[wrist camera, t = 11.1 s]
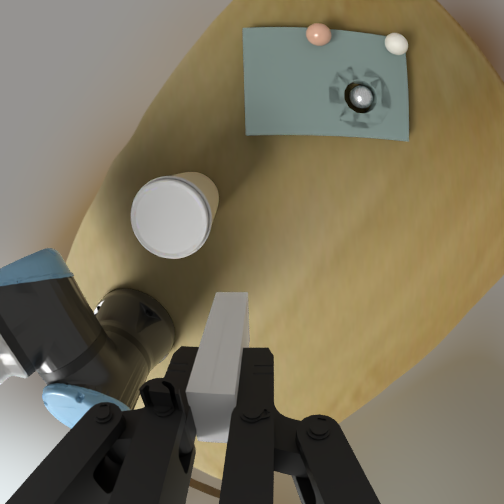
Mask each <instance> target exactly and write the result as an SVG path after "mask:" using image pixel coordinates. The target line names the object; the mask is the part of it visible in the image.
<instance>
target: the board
mask: <svg viewBox="0 0 504 504" xmlns="http://www.w3.org/2000/svg"><path fill="white" fill-rule="evenodd" d="M306 30H307V28H300V27H254V28H243V61H244V94H245V126H246V135H247V136H248V135H323V136H346V137H363V138H377V139H388V140H399V141H409V102H408V79H407V65H406V53H404V54H402V55H395V54H392V53H390V52H389V51H388V50H387V48H386V46H385V38H386V37H387V36H381V35H375V34H368V33H361V32H353V31H344V30H333V29H330V31H331V40H330V41H329V42H328V43H327V44H326V45H323V46H316V45H313V44H312V43H310V42H309V41H308V39H307V37H306ZM350 83H356V84H360V85H362V86H365V87H367V88H368V89H369V90H370V91H371V92H372V95H373V101H372V103H371V105H370V107H369V109H368V111H366V112H364V113H356V112H355V111H353V110H352V109H350V108H349V107H348V105H347V103H346V102H345V100H344V91H345V89H346V87H347V85H348V84H350Z"/></svg>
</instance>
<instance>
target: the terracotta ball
mask: <svg viewBox="0 0 504 504" xmlns="http://www.w3.org/2000/svg"><path fill="white" fill-rule="evenodd" d="M306 37H307V39H308V41H309V42H310V43H312V44H313V45H316V46H323V45H326V44H327V43H328V42H329V41H330V40H331V31H330V29H329V28H328V27H327V26H326V25H324V24H321V23H314V24H312V25H310V26H309V27H308V28H307V30H306Z"/></svg>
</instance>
